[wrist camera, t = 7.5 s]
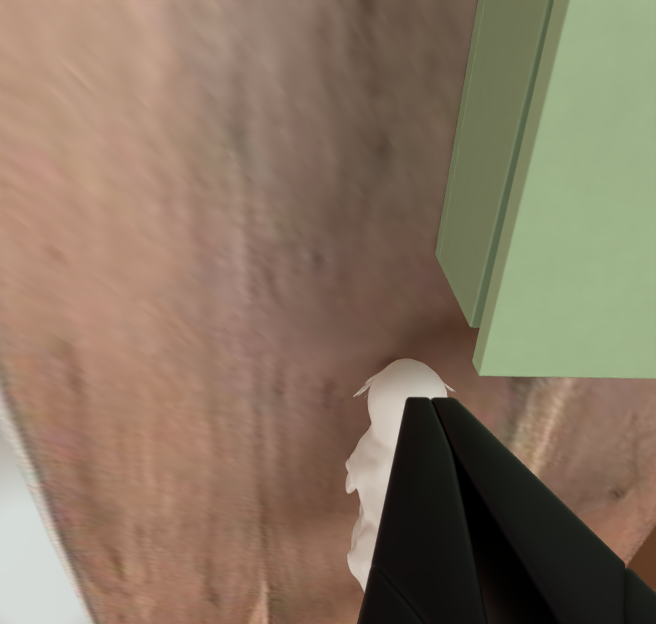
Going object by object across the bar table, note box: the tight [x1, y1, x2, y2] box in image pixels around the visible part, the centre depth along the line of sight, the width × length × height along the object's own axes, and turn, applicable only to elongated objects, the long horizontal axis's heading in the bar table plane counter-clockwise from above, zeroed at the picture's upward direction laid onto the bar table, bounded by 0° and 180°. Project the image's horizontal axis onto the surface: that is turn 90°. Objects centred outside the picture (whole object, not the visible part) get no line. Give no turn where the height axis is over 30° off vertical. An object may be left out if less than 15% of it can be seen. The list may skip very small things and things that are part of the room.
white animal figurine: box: [346, 358, 455, 593], centre depth 23 cm, size 6×8×12 cm
